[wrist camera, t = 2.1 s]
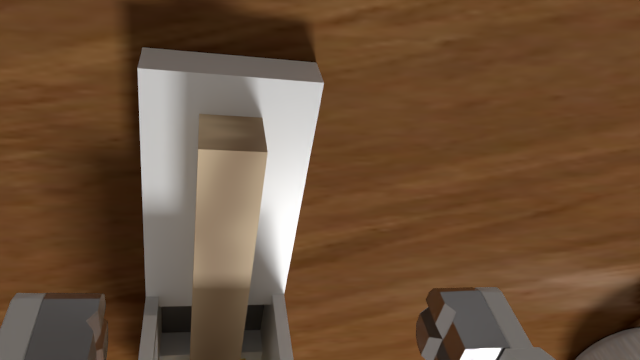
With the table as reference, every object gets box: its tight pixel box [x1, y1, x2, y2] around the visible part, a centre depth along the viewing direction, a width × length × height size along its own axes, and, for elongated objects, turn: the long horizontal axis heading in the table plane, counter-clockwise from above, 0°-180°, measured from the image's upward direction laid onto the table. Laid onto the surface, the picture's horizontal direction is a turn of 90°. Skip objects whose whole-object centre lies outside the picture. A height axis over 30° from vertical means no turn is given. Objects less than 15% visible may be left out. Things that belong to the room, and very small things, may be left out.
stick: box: [190, 114, 268, 360], centre depth 32 cm, size 3×20×3 cm, turn 170°
